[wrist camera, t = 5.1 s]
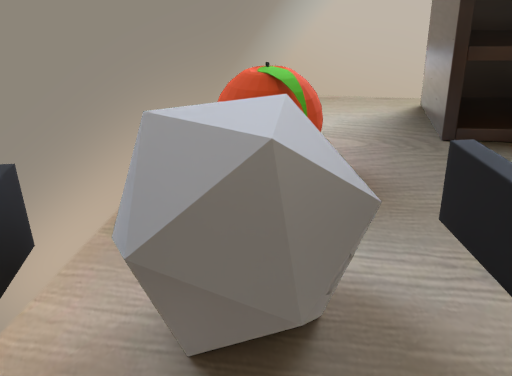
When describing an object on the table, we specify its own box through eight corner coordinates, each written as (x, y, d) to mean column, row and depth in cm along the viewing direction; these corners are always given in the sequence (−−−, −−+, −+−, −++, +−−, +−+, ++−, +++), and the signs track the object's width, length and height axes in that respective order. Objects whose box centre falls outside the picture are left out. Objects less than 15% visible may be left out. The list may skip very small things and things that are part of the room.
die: (358, 445, 14) (461, 132, 15) (50, 371, 11) (205, -10, 12) (257, 349, 22) (329, 148, 23) (61, 291, 19) (155, 64, 20)
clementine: (353, 182, 30) (360, 66, 27) (256, 208, 27) (252, 81, 24) (286, 147, 37) (286, 50, 34) (201, 164, 34) (193, 60, 31)
